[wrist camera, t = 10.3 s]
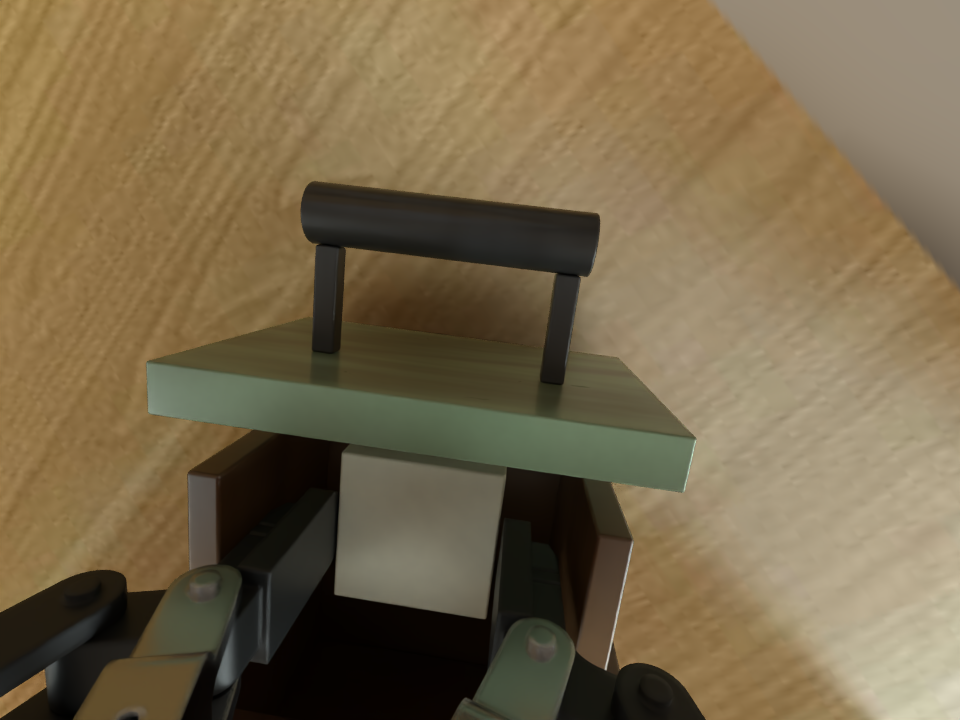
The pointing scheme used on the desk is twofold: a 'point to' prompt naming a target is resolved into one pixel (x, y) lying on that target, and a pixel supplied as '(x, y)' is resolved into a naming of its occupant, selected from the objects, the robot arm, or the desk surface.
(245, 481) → the drawer
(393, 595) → the block
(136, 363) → the desk surface
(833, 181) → the desk surface
